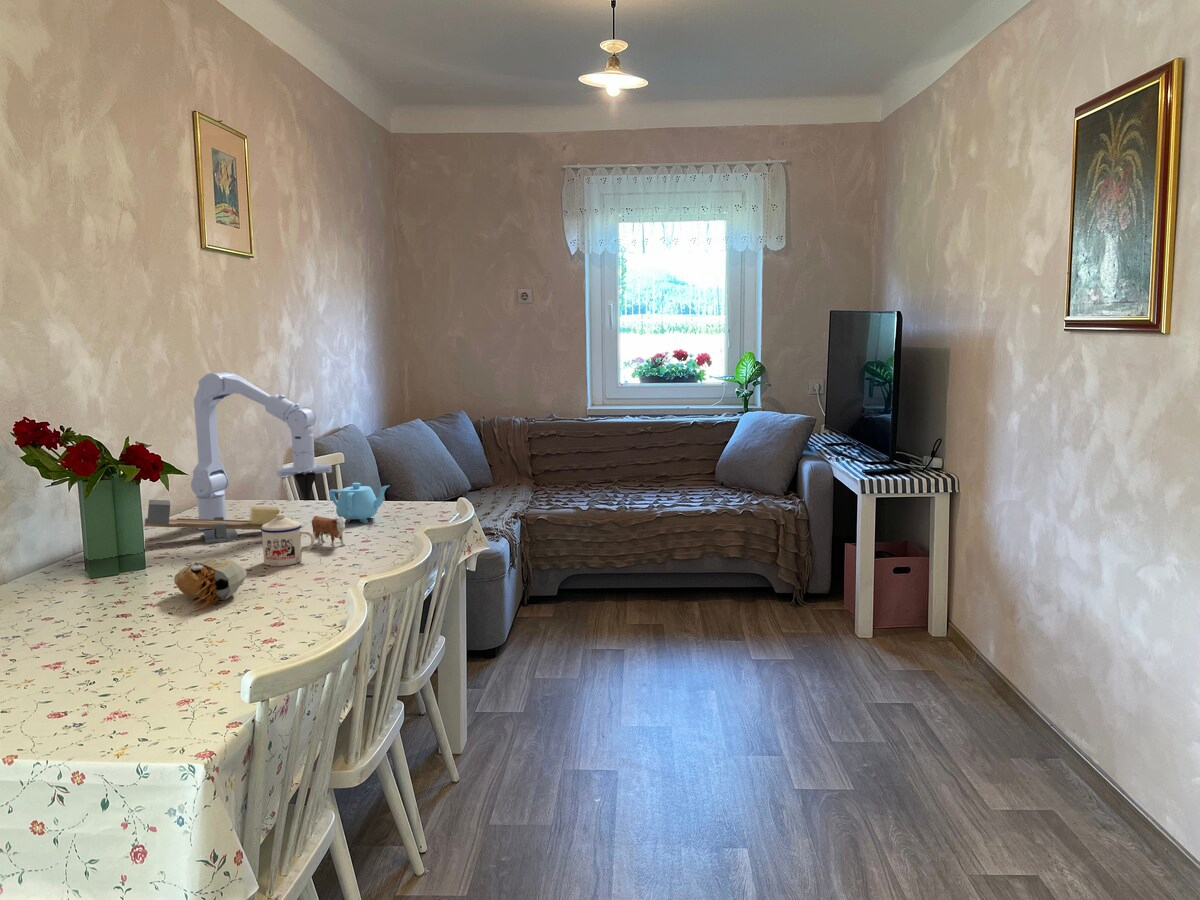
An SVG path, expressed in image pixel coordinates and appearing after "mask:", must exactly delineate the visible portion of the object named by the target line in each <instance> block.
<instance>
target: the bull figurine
mask: <svg viewBox="0 0 1200 900" xmlns="http://www.w3.org/2000/svg"><path fill="white" fill-rule="evenodd" d="M349 520H350V521H351V519H349V518H347V519H344V518H343V517H339V516H337V517H325V516H324V517H323V516H318V515H315V516H314V517H312V520H311V527H312V534H313V535H314V539H315V540H317V544H318V546H323V545H324V543H325V542H326V540H325V539H324V535H325V537H326V538H328V537H329V536H330V540H331V543H330V547H331V546H332V547H331V548H335V547H336V545H335V542H334V541H335V539H339V541H340V545H341V547H345V546H344V545H346V544H345V542H344V536H343V532H344V531H345V530H346V526H345V525H346V523H345V522H348V521H349ZM323 542H324V543H323ZM334 546H335V547H334Z"/></svg>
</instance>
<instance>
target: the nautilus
mask: <svg viewBox="0 0 1200 900" xmlns="http://www.w3.org/2000/svg"><path fill="white" fill-rule="evenodd" d="M247 574H248V572H247V570H246V569H245V568H244V567H243V566H242V565H240V564H239V563H237V562H235V560H227V559H220V558H214V557H211V558H207V559H206V558H205V559H202V560H199V561H194V562H193V563H191V564H189V565H187V566H185V567H183V568H181V569H180V570H178V572H177V573H176V574H175V575H174V579H173V580H174V585H176V586H177V588H178V590H179V591H180V592H181V593H182V594H184V595H186V597H188V598H191V599H195V598H198V599H197V600H195V601H193V602H192V603H190V604H189V606H191V605H193V604H197V603H199V602H200V601H202V600H205V601H204V602H203V603H201V604H200V605H198V606H197V607H194V609H195V610H193V611H190V613H191V612H192V613H193V612H198V611H202V610H203V609H204V611H206V610H207V608H208V607H210V606H211V607H213V606H214V605H215V604H216V603H217V602H218V601H221V600H227V599H228V598H230V597H231V596H232V595H234V594H235V593H236V592H237V591H238V589H239V588H240V587H241V586H242V584H243V583H245V582H244V581H245V579H246V576H247Z"/></svg>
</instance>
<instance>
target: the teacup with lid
mask: <svg viewBox="0 0 1200 900" xmlns="http://www.w3.org/2000/svg"><path fill="white" fill-rule="evenodd" d="M301 528H302V525H301V522H299V521H298V520H293V519H291V518H289V517H286V515H285V513H279V514H277V515H276V519H273V520H271V521H270V522H269V523H266V524H264V525H262V527H261V530H260V531H261V536H262V538H261V539H262V553H263V563H264V565H265V566H268V565H270V566H269V567H286V566H285V565H288V566H292V564H293V565H296V564H299V563H301V562H302V560H303V553H304V552H308V551H309V550H311V549H312V548H313V546H314V544H315V541H316V539H315V538H314V535H313V532H311V531H308V530H301ZM301 535H308V536H309V537H310V540H311V541H310V544H309V546H307V547H303V548H302V536H301ZM298 562H299V563H298ZM295 563H296V564H295Z"/></svg>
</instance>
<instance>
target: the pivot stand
mask: <svg viewBox="0 0 1200 900" xmlns="http://www.w3.org/2000/svg"><path fill="white" fill-rule="evenodd" d="M214 519H215V520H224V519H223V517H214ZM202 532H203V534H204V535H203V537H204V538H205V539H204V538H203V539H204V542H205V544H206V543H208V544H215V542H217V543H226V541H227V542H234V541H233V540H236V541H239V535H238V533H237V529H226V523H220V524H216V528H213V529H207V530H203V531H202Z"/></svg>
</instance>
